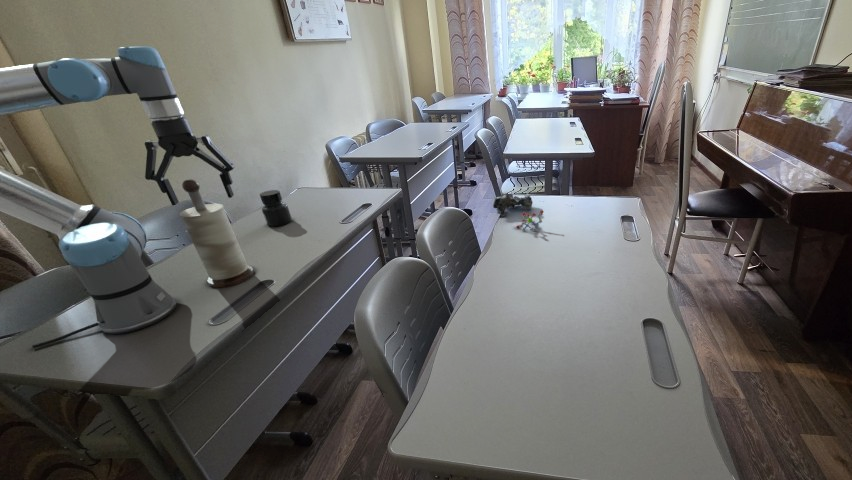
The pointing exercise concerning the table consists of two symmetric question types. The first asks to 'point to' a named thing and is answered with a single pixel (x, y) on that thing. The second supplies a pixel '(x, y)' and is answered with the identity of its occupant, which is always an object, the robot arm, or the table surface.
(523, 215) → the molecular model
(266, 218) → the ink bottle
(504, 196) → the dark grey lumpy piece
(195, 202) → the towel holder
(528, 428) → the table surface
